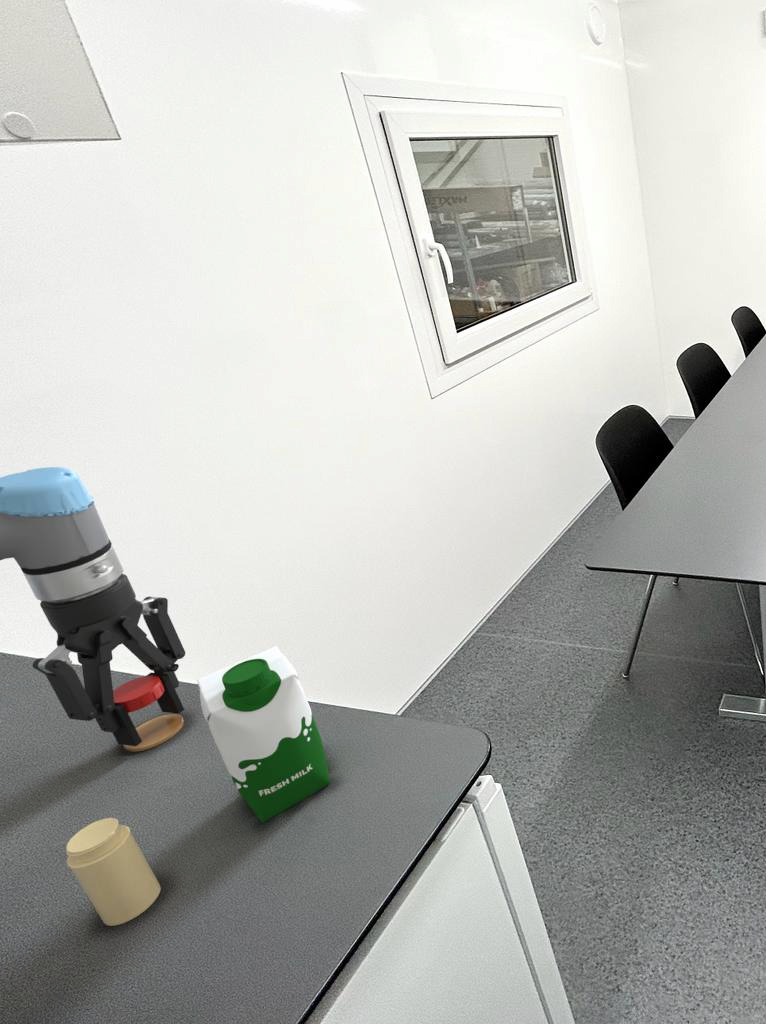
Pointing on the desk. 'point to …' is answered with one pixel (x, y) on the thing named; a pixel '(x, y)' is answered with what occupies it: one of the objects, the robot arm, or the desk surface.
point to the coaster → (157, 731)
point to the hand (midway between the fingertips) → (152, 726)
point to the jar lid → (138, 693)
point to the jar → (112, 871)
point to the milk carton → (265, 732)
